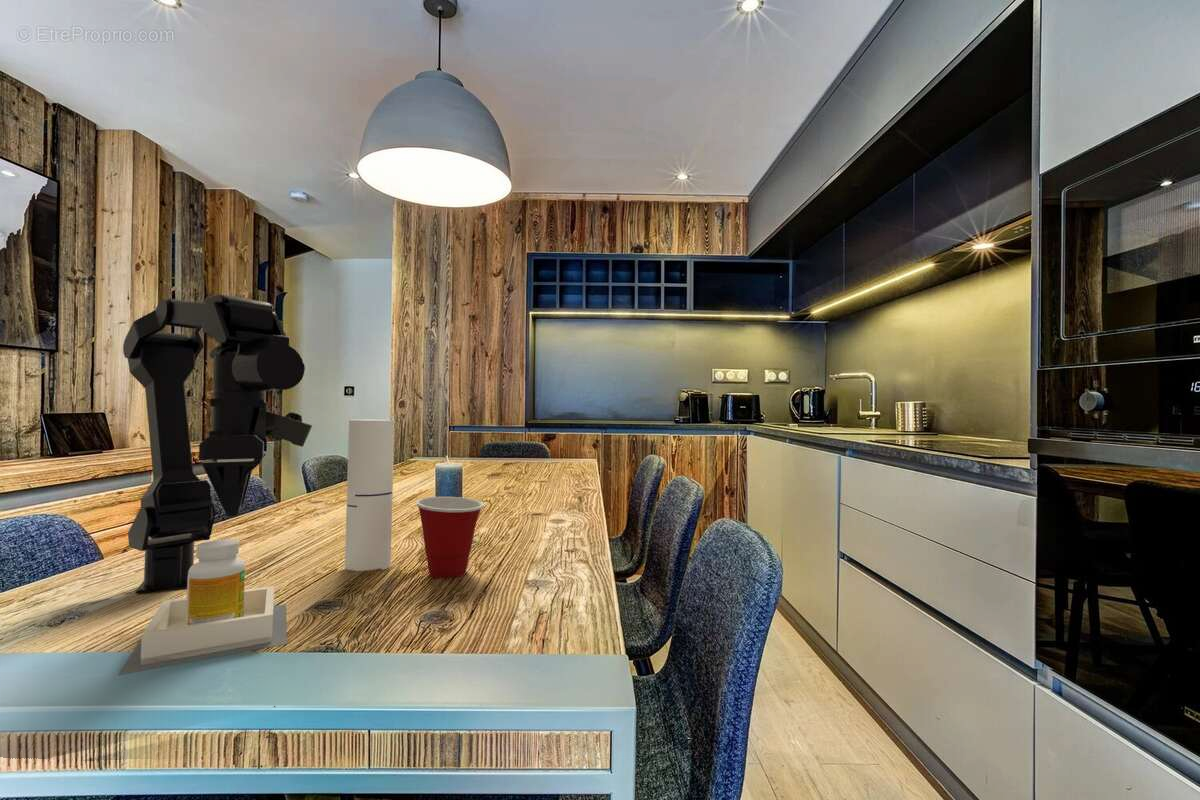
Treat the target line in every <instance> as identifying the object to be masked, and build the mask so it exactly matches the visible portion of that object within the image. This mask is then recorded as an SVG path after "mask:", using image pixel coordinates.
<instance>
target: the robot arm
mask: <svg viewBox="0 0 1200 800" xmlns="http://www.w3.org/2000/svg"><path fill="white" fill-rule="evenodd" d="M273 310H274V306H273V305H272V304H271V303H270V302H268V301H267V302H265V301H261V300H255V299H250V298H244V297H239V296H234V295H228V294H221V293H217V294H214V295H211V296H207V297H206V298H205V301H204V302H202V301H201V302H200V301H189V300H181V299H175V298H170V297H169V298H166V299H165V298H162V299H160V300H159V302H158V303H157V306H156V308H155V309H154V310H152V311H151V312H149V313H147V314H145V315H143V316H141V317H140V318H138V319H135V320H134V321H133V322H132V324H131V327H130V328H129V330H128V331H127V334H126V336H125V338H124V341H123V346H122V350H123V351H122V352H123V356H124V358H125V359H127V363H128V369H129V373H130V374H131V376H132V377H134V379H136V381H137V382H138V383H139V384H140V385H141V386H142V387H143V388H144V390H145V391H144V392H145V401H146V410H147V411H146V413H147V423H148V434H149V445H150V458H151V466H152V467H151V468H152V469H151V470H152V476H153V477H152V482H151V483H150V485H149V486H148V488H147V490H146V491H145V492H144V494H143V495H142V496H141V499H140V508H139V510H138V512H137V514H136V516H135V517H134V520H133V522H132V524H131V526H130V528H129V530H128V533H127V536H128V547H129V548H132V549H134V550H137V551H140V552H144V570H143V571H144V572H143V573H144V574H143V581H142V582H141V583H140V585H138V587H137V588H136V590H135V594H145V593H151V592H153V593H154V592H160V591H169V590H178V589H187V582H188V571H189V569H190V567H191V566H192V565H194V564H195V563H194V561H195V542H200V541H201V542H202V541H210V538H211V535H212V532H213V528H214V527H213V526H214V523H215V517H216V512H217V511H216V508H215V505H214V503H213V501H212V494H211V487H213V489H214V491H215V493H216V495H217V497H218V500H219V503H220V504H221V506H222V509H223V511H224V513H225V514H226V516H227V517H229V518H230V517H237V516H238V515H239V513H240V509H241V506H243V505H244V503H245V499H246V496H247V492H248V488H249V484H250V481H251V477H252V473H253V470H255V469H256V468H257V467H258V466H259V465H261V463H262V462H263V460H264V459H263V458H264V457H265V456H266V455H267V453H265V452H267V451H268V436H270V437H273V438H277V439H281V440H283V441H286V442H290V443H291V444H292V445H294V446H298V447H302V448H303V447H304V445H305V443H306V440H307V438H308V436H309V433H310V431H311V429H312V427H313V425H312V424H308V423H306V422H303V418H302V414H299V413H296V412H293V411H290V412H288V413H286V415H285V416H284V415H281V414H278V413H275V412H272V411H268V409H269V402H267V401H266V392H267V391H270V392H271V391H284V390H285V391H286V390H290V389H292V388H295V387H296V386H297V385H299V384H300V382H301V381H302V380H303V377H304V376H305V370H306V369H305V367H306V366H305V364H304V360H303V359H302V357H301V355H300V353H299V352H298V351H297V350H296V349H295V348H293V347H292V346H290V337H289V336H288V335H287V334H286V332H285V331H284V329H283V327H282V324H281V321H280V320H279V317H278V315H277V313H276V312H275V311H273ZM166 326H171V327H178V328H179V327H180V328H186V329H193V332H192V333H191V335H190V337H189V336H188V335H187V334H184V333H183V334H181V333H174V332H173V333H172V332H166V331H165V332H163V331H162V330H164V329H165V328H166ZM201 330H202V332H203V333H204V334H206V335H208V336H210V337H211V338H213V339H214V340H215V342H216V343H217V344H218V345H217V346H216V347H214V348H213V349H212V350H211V351H210V353H209V358H211V359H213V373H212V377H213V378H212V380H213V381H212V398H210V399H209V401H210V402H209V406H210V407H211V430H210V431H209V432H208V436H207V437H206V438H205V439H204V440H203V441H201V442H200V443H199V445H198V447H199V448H198V461H202V462H201V463H200V465H201V467H202V468H203V469H204V471H205V473H206V476H207V478H208V480H209V481H210V483H211V484H210V483H209V481H208V480H206V479H204V480H203V479H201V478H199V477H198V475H196V474H195V473H194V466H193V458H192V457H193V456H192V446H191V439H190V438H191V437H190V429H189V417H188V407H187V400H186V390H185V382H186V381H187V379H188V378H189V376H190V375H191V374H192V372H193V371H194V369H195V367H196V359H198V357H199V355H200V354H201V352H202V350H203V348H204V345H205V344H204V342H203V339H202V335H201V333H200V331H201Z"/></svg>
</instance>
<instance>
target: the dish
mask: <svg viewBox="0 0 1200 800" xmlns="http://www.w3.org/2000/svg"><path fill="white" fill-rule="evenodd" d="M186 605H187V597H182V598H174V599H166V600H163V601H162V602H161V604H160V606H159V607H158V609H157V610H156V612H155V613H154V615H153V616H152V618H151V620H150V621H149V622H148V625H147V626H146V628H145V629H144V631H143V632H142V634H141V638H142V640H141V665H144V664H150V663H156V662H161V661H167V660H172V659H178V658H184V657H189V656H195V655H201V654H206V653H212V652H217V651H223V650H229V649H234V648H240V647H245V646H251V645H257V644H262V643H268V642H272V631H273V611H274V606H275V586H274V585H273V586H264V587H256V588H250V589H244V615H243V617H239V618H232V619H226V620H219V621H213V622H206V623H199V624H193V625H186Z"/></svg>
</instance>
